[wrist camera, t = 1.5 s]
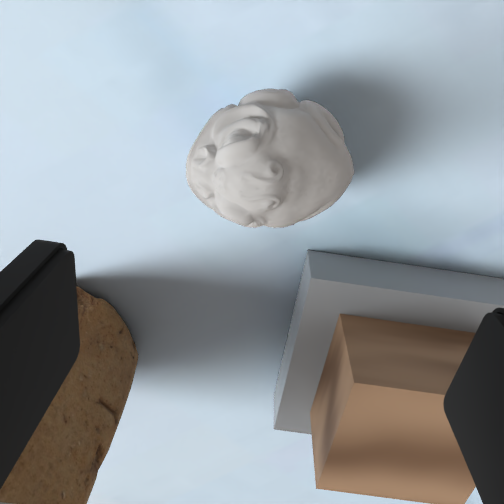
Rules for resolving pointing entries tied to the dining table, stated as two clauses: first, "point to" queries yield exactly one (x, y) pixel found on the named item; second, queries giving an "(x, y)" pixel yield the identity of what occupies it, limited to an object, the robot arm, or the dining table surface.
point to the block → (78, 414)
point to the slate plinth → (367, 315)
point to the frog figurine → (270, 160)
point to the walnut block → (389, 412)
